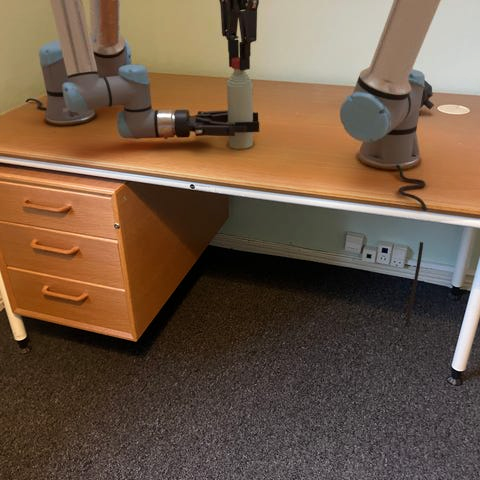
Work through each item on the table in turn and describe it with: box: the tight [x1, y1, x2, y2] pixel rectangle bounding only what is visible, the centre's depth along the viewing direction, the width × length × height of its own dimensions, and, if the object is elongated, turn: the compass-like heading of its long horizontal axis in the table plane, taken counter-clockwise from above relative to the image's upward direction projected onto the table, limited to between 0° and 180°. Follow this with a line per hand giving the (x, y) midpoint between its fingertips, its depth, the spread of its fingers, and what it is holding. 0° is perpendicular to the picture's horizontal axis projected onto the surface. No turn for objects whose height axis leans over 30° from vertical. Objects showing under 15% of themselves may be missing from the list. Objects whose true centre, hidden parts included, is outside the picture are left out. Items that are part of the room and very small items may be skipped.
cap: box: [230, 56, 240, 70], centre depth 138 cm, size 4×4×2 cm
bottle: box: [226, 69, 254, 150], centre depth 144 cm, size 7×7×23 cm
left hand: (258, 122), depth 146 cm, fingers closed on bottle, 7 cm apart
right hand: (239, 67), depth 138 cm, fingers closed on cap, 4 cm apart
